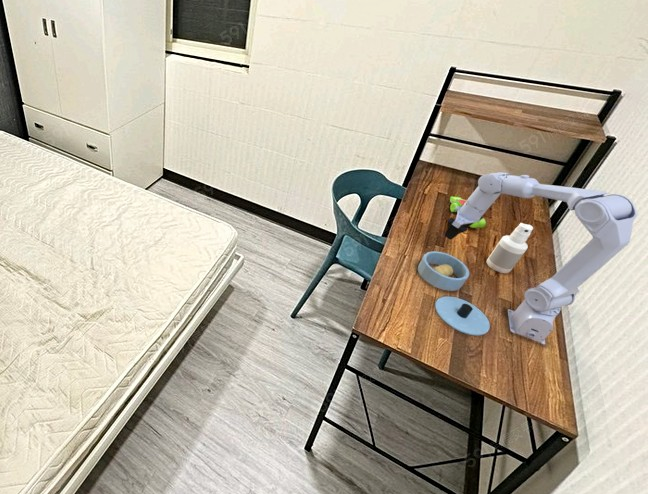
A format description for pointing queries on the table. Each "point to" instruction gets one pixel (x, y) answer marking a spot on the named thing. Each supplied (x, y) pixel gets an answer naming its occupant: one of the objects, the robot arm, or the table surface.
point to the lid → (462, 316)
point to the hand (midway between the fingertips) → (453, 233)
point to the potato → (444, 269)
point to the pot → (439, 279)
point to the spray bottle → (510, 249)
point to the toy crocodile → (460, 202)
